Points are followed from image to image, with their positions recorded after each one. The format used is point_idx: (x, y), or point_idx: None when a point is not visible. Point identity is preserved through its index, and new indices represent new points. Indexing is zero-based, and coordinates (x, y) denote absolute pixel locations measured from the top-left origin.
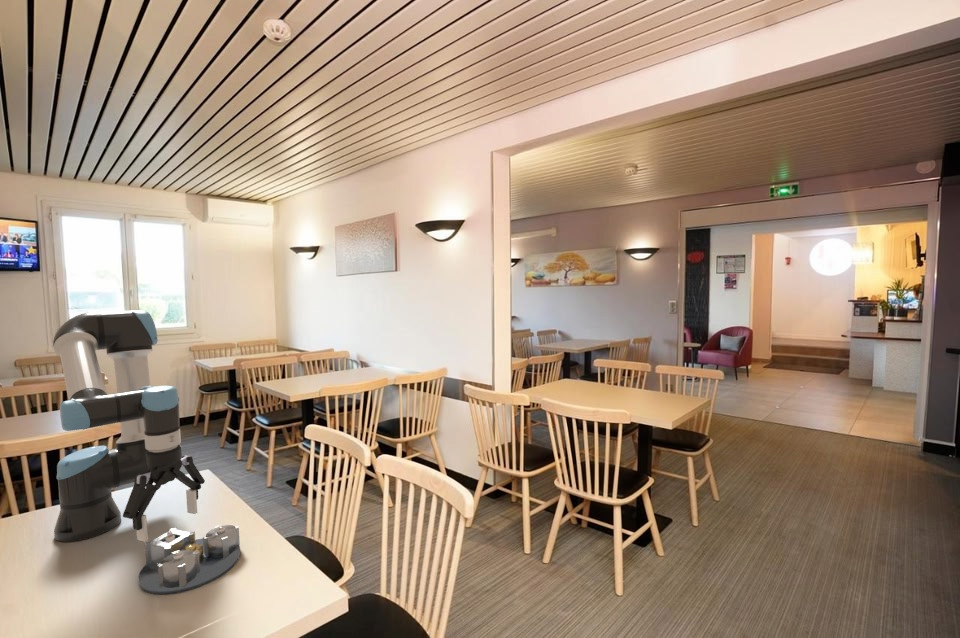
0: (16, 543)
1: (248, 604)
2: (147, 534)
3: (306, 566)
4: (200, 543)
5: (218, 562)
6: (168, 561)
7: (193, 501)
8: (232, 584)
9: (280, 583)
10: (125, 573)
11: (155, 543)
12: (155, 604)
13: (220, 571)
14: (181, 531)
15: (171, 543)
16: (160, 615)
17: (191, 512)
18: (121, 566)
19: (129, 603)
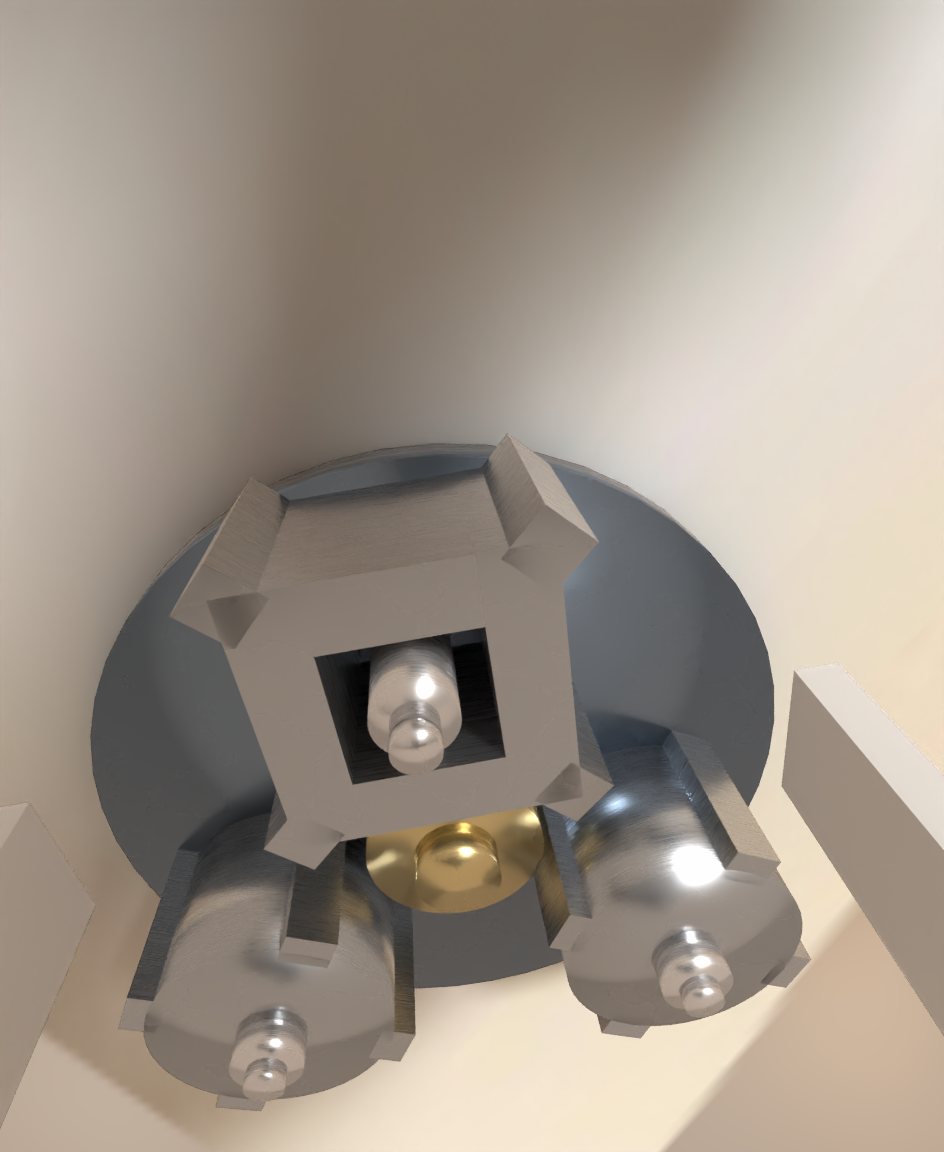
0: None
1: (391, 1143)
2: (57, 990)
3: (684, 1119)
4: (644, 619)
5: (517, 914)
6: (204, 1015)
7: (907, 966)
8: (446, 1025)
9: (547, 1130)
10: (84, 394)
11: (262, 688)
12: (122, 907)
13: (462, 982)
14: (557, 681)
15: (359, 813)
16: (109, 989)
17: (793, 750)
18: (90, 206)
19: (8, 797)
